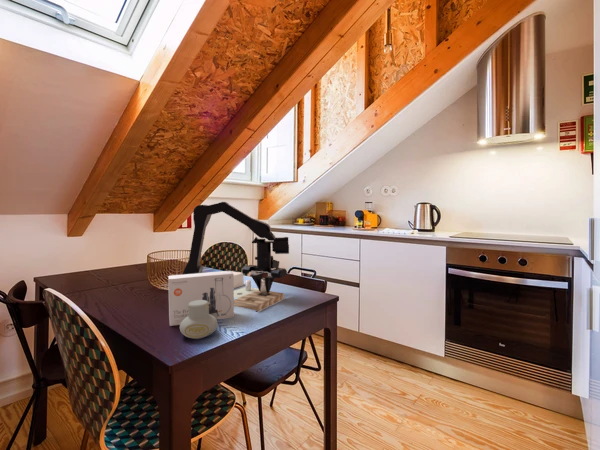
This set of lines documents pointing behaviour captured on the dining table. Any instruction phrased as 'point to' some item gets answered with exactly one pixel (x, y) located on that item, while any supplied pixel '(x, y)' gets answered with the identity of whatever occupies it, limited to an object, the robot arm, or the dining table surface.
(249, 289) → the plate
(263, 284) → the pin
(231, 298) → the skincare box
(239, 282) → the white rectangular block
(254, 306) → the hole board
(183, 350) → the dining table surface
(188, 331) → the air freshener
